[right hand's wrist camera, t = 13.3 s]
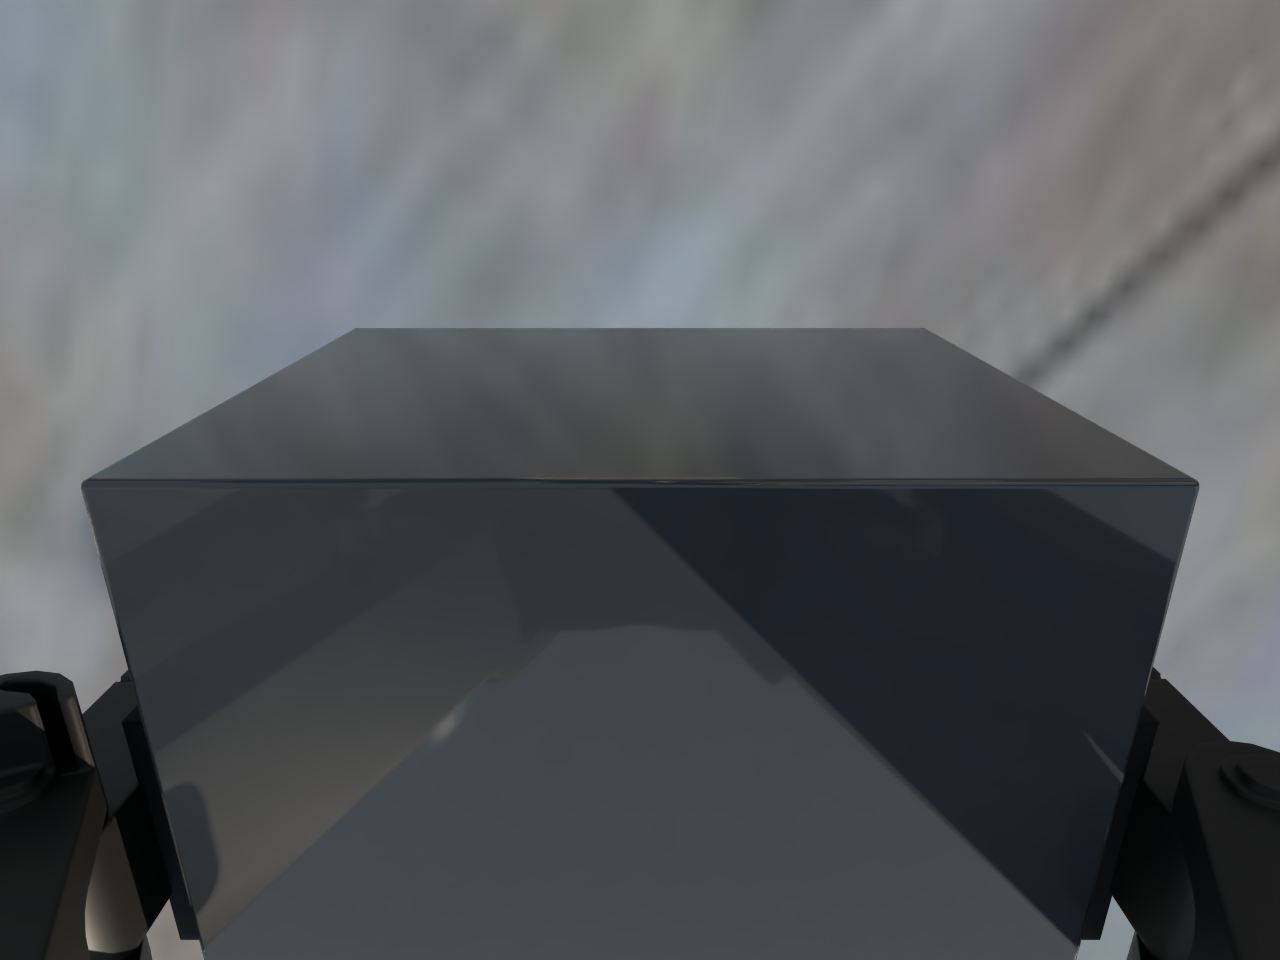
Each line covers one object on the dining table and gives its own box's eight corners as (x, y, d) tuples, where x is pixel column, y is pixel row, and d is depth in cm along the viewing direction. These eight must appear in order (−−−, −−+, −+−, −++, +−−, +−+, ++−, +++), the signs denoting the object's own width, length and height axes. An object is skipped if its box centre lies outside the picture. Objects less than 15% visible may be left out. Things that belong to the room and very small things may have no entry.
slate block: (869, 787, 14) (1019, 1189, 9) (410, 787, 14) (260, 1189, 9) (926, 327, 11) (1205, 480, 6) (353, 327, 11) (75, 481, 6)
